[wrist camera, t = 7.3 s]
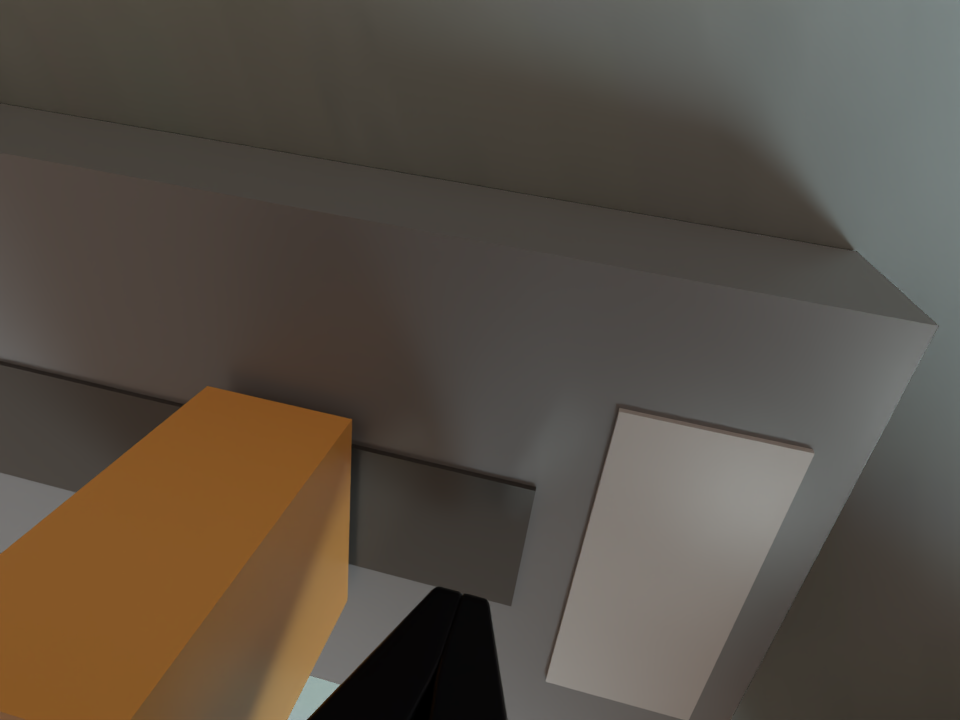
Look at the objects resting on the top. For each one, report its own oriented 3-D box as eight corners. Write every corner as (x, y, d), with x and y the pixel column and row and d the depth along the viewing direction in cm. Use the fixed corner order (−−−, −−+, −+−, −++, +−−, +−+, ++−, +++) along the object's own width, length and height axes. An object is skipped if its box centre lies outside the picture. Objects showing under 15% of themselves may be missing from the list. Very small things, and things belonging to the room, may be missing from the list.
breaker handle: (352, 419, 9) (109, 747, 5) (347, 600, 11) (170, 953, 7) (207, 386, 10) (-139, 666, 5) (226, 567, 12) (-17, 884, 7)
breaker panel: (857, 251, 10) (942, 329, 7) (683, 654, 15) (696, 792, 12) (-342, 44, 13) (-596, 44, 10) (-163, 432, 18) (-305, 501, 15)
